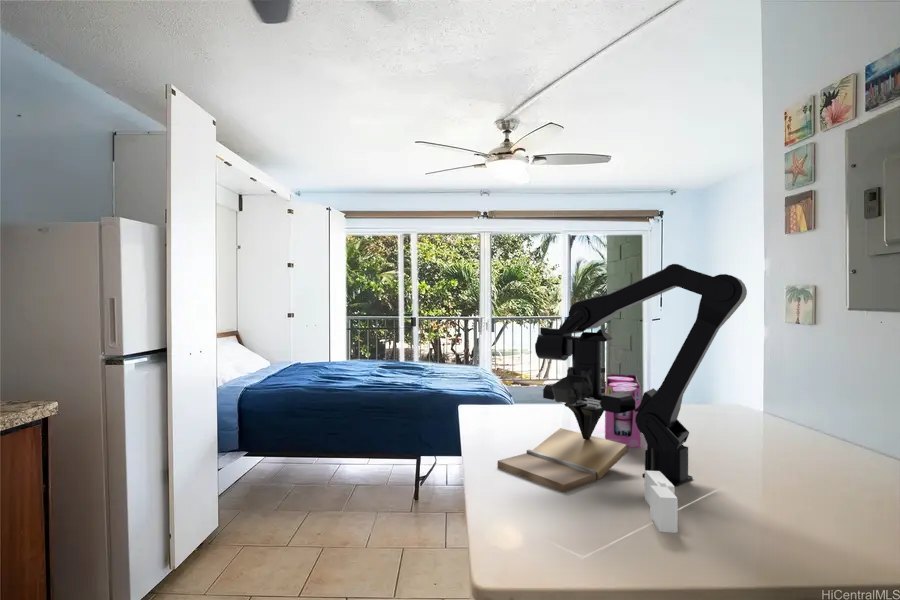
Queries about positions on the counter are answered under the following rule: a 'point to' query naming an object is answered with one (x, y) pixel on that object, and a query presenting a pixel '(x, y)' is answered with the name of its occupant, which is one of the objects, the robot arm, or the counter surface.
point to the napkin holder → (661, 501)
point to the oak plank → (583, 450)
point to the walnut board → (548, 470)
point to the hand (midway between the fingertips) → (586, 439)
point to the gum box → (623, 424)
